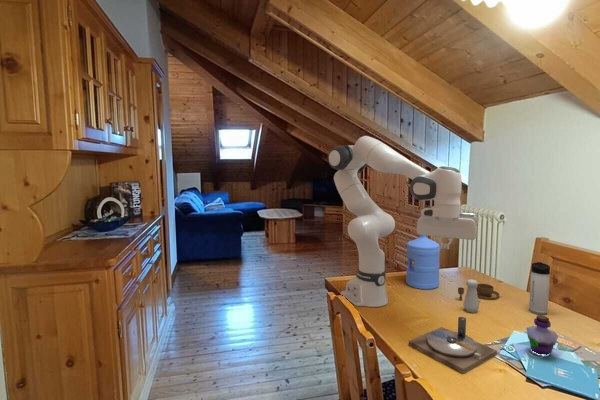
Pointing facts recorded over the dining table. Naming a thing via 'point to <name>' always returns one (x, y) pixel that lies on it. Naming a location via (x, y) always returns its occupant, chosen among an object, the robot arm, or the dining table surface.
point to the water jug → (423, 263)
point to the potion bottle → (541, 336)
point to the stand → (454, 362)
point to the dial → (453, 341)
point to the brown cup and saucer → (482, 292)
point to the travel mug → (539, 288)
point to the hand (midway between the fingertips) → (444, 248)
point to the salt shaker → (471, 296)
